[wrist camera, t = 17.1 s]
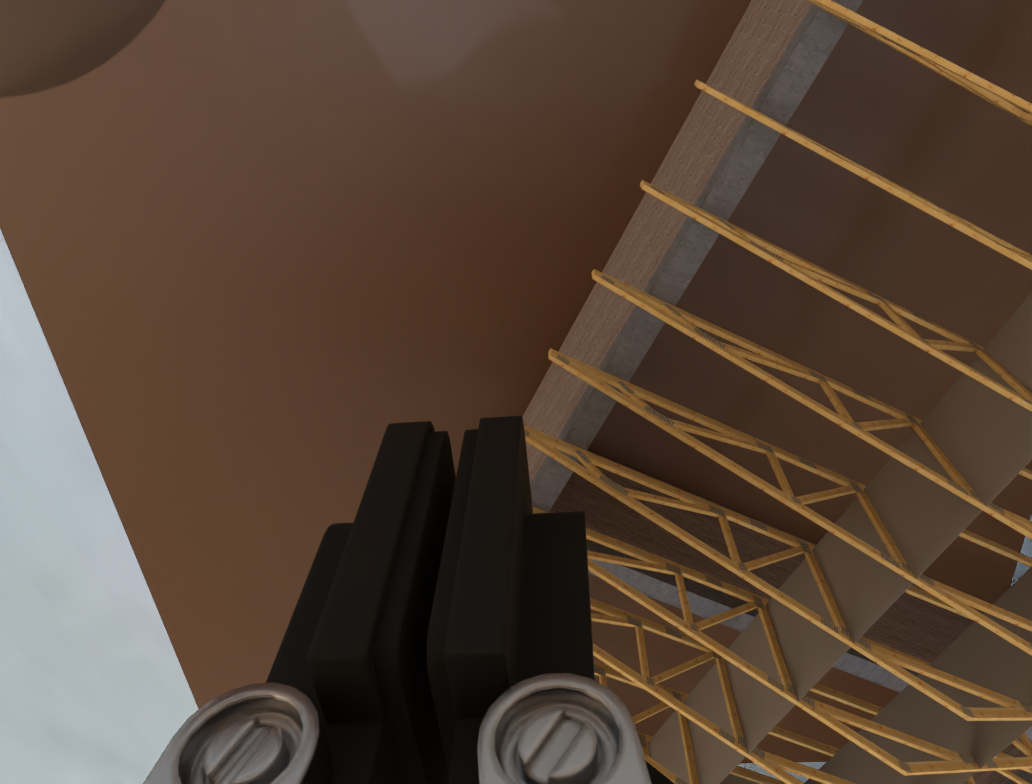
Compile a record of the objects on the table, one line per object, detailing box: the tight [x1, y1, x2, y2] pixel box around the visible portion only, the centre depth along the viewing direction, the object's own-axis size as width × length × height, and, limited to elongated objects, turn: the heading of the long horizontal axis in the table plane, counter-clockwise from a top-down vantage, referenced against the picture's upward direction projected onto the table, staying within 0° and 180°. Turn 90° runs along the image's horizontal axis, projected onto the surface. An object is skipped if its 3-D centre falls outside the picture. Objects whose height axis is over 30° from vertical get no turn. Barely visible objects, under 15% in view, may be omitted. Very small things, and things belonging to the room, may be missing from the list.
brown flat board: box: [0, 0, 1032, 763], centre depth 15 cm, size 24×28×1 cm
